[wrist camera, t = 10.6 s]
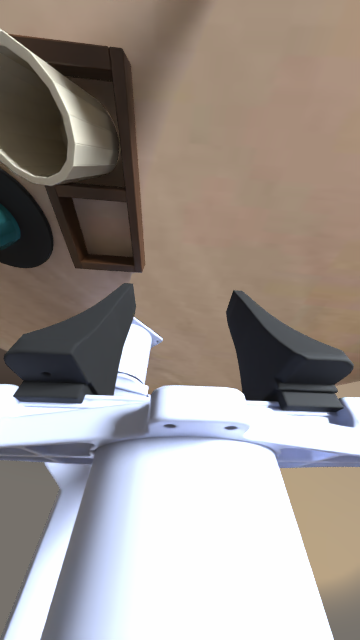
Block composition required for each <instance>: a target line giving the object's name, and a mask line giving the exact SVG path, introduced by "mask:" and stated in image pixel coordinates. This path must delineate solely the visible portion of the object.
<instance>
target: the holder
mask: <svg viewBox="0 0 360 640" xmlns="http://www.w3.org/2000/svg"><path fill="white" fill-rule="evenodd" d="M8 35H10V36H11V37H12V38H14V39H15V40H17V41H18V42H19V43H21V44H22V45H23V46H25V47H26V48H27V49H29V50H30V51H31V52H33V53H34V54H36V55H37V56H38V57H40V58H41V59H42V60H44V61H45V62H46V63H48V64H49V65H50V66H52V67H53V68H55V69H56V70H57V71H59V72H60V73H61V74H63V75H64V76H67V77H76V78H84V79H93V80H101V81H110V82H113V87H114V96H115V104H116V113H117V121H118V130H119V138H120V147H121V156H122V164H123V173H124V181H125V187H117V186H106V185H95V184H84V183H73V182H70V183H65V184H59V185H54V186H48V185H45V188H46V191H47V193H48V196H49V199H50V201H51V204H52V207H53V209H54V212H55V215H56V218H57V220H58V223H59V226H60V228H61V231H62V234H63V236H64V239H65V242H66V245H67V247H68V250H69V253H70V255H71V258H72V261H73V263H74V266H75V268H80V269H95V270H110V271H124V272H140V273H142V271H143V269H144V266H145V255H144V241H143V227H142V213H141V199H140V185H139V170H138V156H137V142H136V128H135V114H134V100H133V86H132V72H131V64H130V62H129V60H128V58H127V56H126V54H125V53H124V51H123V49H122V48H116V47H107V46H100V45H92V44H85V43H77V42H69V41H61V40H53V39H45V38H37V37H29V36H21V35H13V34H8ZM72 198H84V199H95V200H107V201H118V202H127V207H128V215H129V224H130V233H131V241H132V250H133V257H123V256H109V255H96V254H88V251H87V248H86V245H85V241H84V238H83V234H82V231H81V228H80V224H79V221H78V218H77V214H76V211H75V208H74V204H73V201H72Z"/></svg>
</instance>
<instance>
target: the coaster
mask: <svg viewBox="0 0 360 640" xmlns="http://www.w3.org/2000/svg"><path fill="white" fill-rule="evenodd" d="M0 204H2V205H3V206H4V207H5V208H6V209H7V210H8V211H9V212H10V213H11V214H12V215H13V217H14V218H15V220H16V221H17V223H18V225H19V228H20V239H19V240H18V242H16V243H15V244H13V245H11V246H9V247H7V248H5V249H3V250H1V251H0V262H1V263H4V264H7V265H10V266H14V267H19V268H33V267H37V266H39V265H41V264H43V263H44V262H46V261H47V260H48V259H49V257H50V255H51V253H52V250H53V236H52V231H51V228H50V225H49V223H48V221H47V218H46V217H45V215H44V213H43V211H42V210H41V208H40V207H39V205H38V204H37V202H36V201H35V200H34V199H33V197H32V196H31V195H30V194H29V193H28V192H27V191H26V189H25V188H24V187H23V186H22V185H20V184H19V183H18V182H17V181H16V180H15V179H14V178H13V177H11V176H10V175H9V174H8V173H6V172H5V171H3V170H2V169H0Z"/></svg>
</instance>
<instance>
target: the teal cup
mask: <svg viewBox="0 0 360 640" xmlns="http://www.w3.org/2000/svg"><path fill="white" fill-rule="evenodd" d="M19 239H20V228H19V225H18V223H17V221H16V220H15V218H14V217H13V215H12V214H11V213H10V212H9V211H8V210H7V209H6V208H5V207H4V206H3V205H2V204H0V251H1V250H3V249H5V248H7V247H9V246H11V245H13V244H15V243H16V242H18V240H19Z"/></svg>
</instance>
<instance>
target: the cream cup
mask: <svg viewBox="0 0 360 640" xmlns="http://www.w3.org/2000/svg"><path fill="white" fill-rule="evenodd" d="M118 158H119V139H118V134H117V131H116V127H115V125H114V122H113V120H112V118H111V116H110V115H109V113H108V112H107V110H106V109H105V108H104V106H103V105H102V104H101V103H100V102H99V101H98V100H97V99H95V98H94V97H93V96H91V95H90V94H89V93H87V92H86V91H84V90H83V89H82V88H80V87H79V86H78V85H76V84H75V83H74V82H72V81H71V80H70V79H68V78H67V77H65V76H64V75H63V74H61V73H60V72H59V71H57V70H56V69H55V68H53V67H52V66H50V65H49V64H48V63H46V62H45V61H44V60H42V59H41V58H40V57H38V56H37V55H36V54H34V53H33V52H31V51H30V50H29V49H27V48H26V47H25V46H23V45H22V44H21V43H19V42H18V41H17V40H15V39H14V38H12V37H11V36H10V35H8V34H7V33H6V32H4V31H3V30H1V29H0V161H1V162H2V163H4V164H5V165H6V166H7V167H8V168H9V169H10V170H11V171H12V172H14V173H15V174H17V175H19V176H21V177H23V178H24V179H26V180H28V181H30V182H32V183H34V184H40V185H48V186H54V185H59V184H65V183H70V182H75V181H81V180H86V179H92V178H97V177H101V176H104V175H107V174H109V173H110V172H111V171H112V170H113V169H114V168H115V166H116V164H117V161H118Z"/></svg>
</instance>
